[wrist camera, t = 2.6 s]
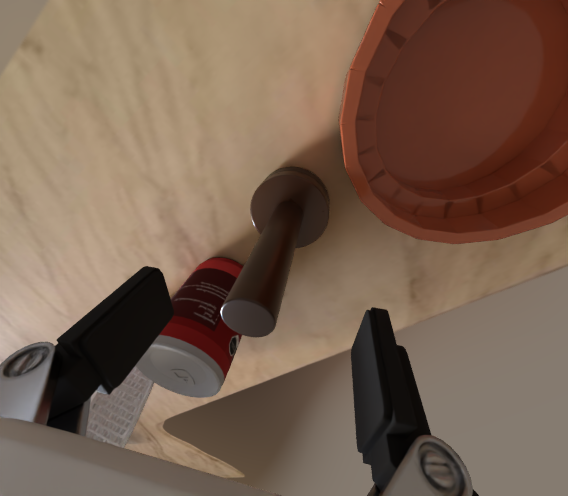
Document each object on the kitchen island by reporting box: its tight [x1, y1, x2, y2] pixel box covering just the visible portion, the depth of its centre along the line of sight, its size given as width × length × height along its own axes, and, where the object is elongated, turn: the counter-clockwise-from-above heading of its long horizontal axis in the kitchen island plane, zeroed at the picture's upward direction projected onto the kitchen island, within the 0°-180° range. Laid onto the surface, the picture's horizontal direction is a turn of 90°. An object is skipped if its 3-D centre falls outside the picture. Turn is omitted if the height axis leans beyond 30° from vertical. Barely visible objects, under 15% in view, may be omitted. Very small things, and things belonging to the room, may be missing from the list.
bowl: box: [338, 0, 568, 244], centre depth 12 cm, size 15×15×5 cm
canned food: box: [136, 257, 243, 397], centre depth 22 cm, size 8×8×11 cm
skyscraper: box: [86, 365, 154, 448], centre depth 21 cm, size 8×8×28 cm
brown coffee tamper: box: [221, 167, 329, 337], centre depth 15 cm, size 6×6×13 cm
